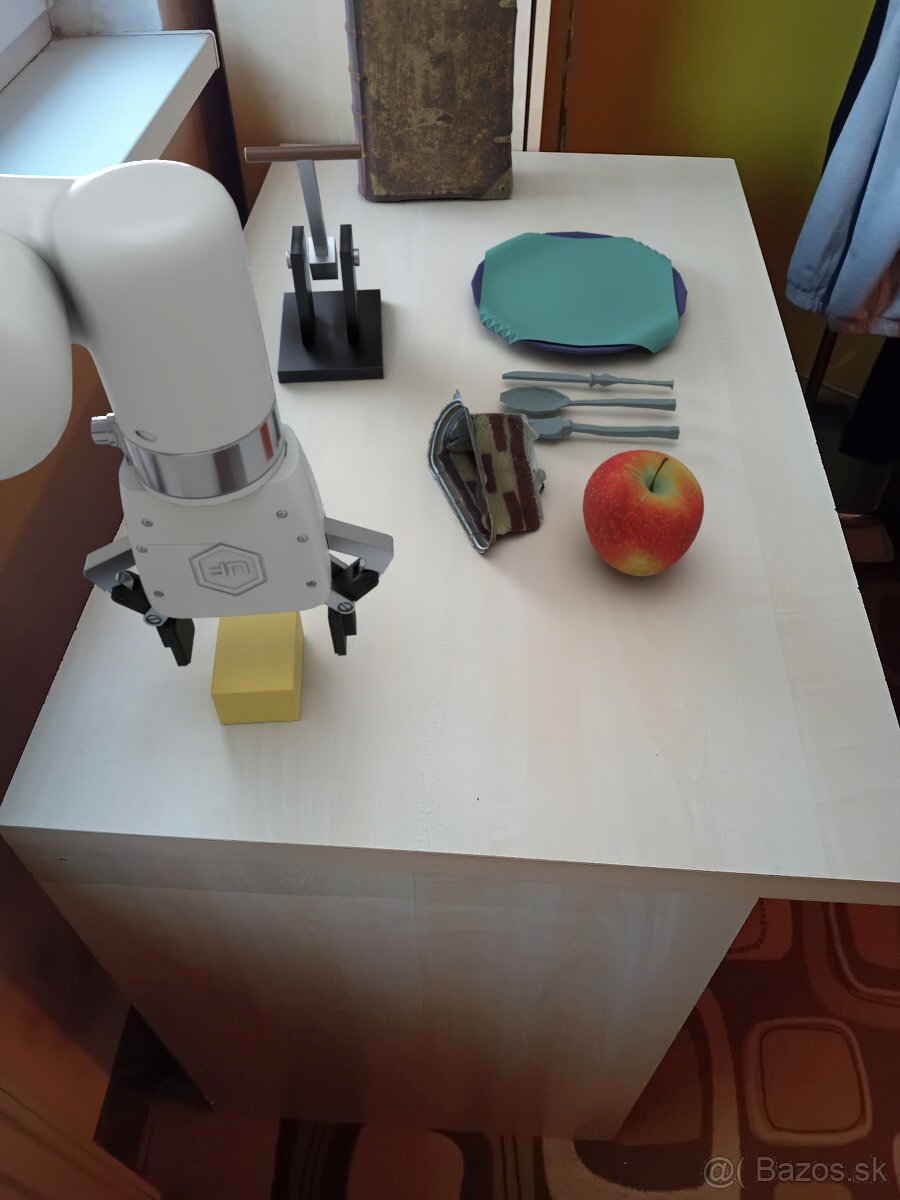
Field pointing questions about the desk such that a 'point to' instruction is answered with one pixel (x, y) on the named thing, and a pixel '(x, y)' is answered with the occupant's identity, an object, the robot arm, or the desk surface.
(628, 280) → the cutlery set
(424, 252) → the desk surface
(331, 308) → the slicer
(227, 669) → the butter
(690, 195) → the desk surface
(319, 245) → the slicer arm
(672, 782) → the desk surface
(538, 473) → the chocolate cake
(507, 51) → the book
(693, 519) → the apple
